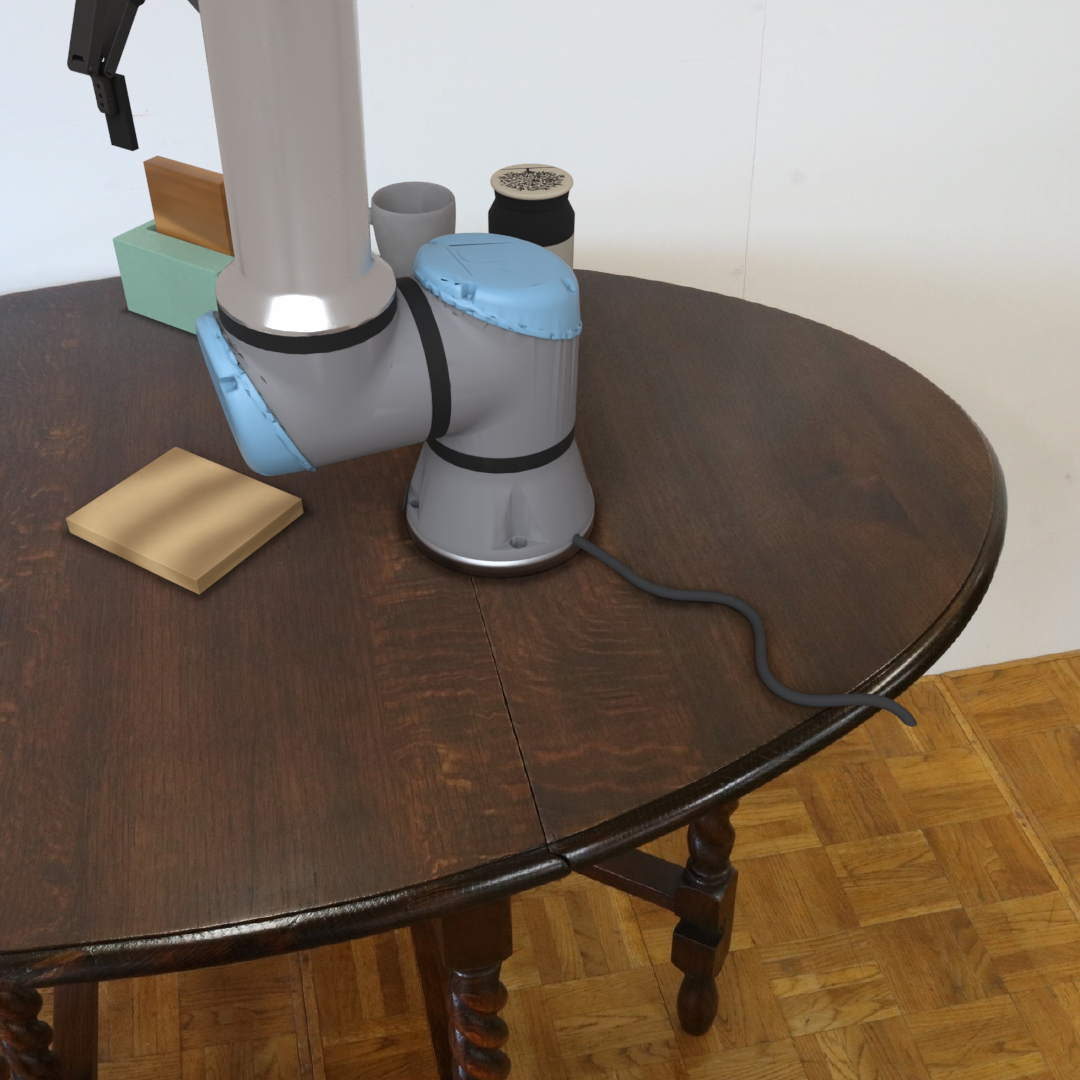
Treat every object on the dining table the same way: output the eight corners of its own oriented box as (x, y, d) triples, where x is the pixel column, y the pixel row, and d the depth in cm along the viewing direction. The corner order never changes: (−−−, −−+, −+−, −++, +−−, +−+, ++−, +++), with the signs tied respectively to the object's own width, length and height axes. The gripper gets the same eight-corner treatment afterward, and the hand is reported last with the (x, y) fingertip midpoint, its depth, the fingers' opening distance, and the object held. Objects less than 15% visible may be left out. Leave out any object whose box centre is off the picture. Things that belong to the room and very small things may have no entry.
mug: (464, 266, 133) (461, 183, 127) (450, 303, 126) (447, 217, 120) (359, 259, 134) (351, 176, 128) (339, 295, 127) (331, 210, 121)
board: (303, 513, 97) (301, 498, 96) (199, 595, 89) (196, 580, 88) (178, 460, 103) (175, 445, 102) (69, 533, 95) (65, 518, 94)
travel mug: (570, 375, 115) (577, 197, 103) (488, 374, 115) (485, 195, 103) (569, 335, 121) (575, 162, 110) (491, 334, 121) (489, 161, 110)
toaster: (186, 270, 131) (173, 201, 126) (294, 306, 125) (285, 235, 120) (117, 306, 124) (100, 234, 119) (228, 346, 118) (216, 272, 113)
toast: (178, 266, 125) (157, 154, 117) (250, 290, 121) (233, 176, 113) (165, 274, 124) (142, 161, 116) (237, 298, 120) (218, 183, 112)
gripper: (207, -155, 109) (240, 81, 122) (-21, -110, 92) (46, 157, 105) (270, -146, 106) (296, 95, 119) (46, -98, 89) (106, 176, 102)
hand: (179, 125), depth 112 cm, fingers open, 13 cm apart
